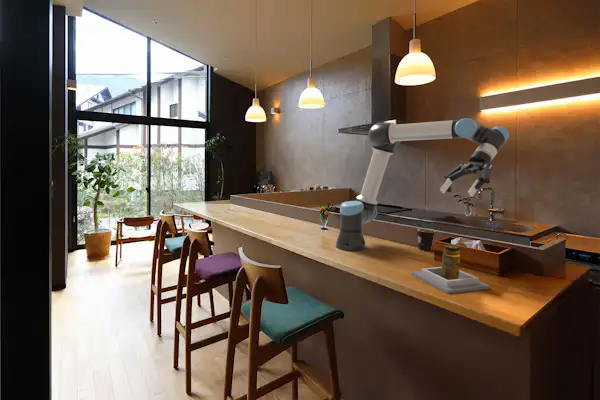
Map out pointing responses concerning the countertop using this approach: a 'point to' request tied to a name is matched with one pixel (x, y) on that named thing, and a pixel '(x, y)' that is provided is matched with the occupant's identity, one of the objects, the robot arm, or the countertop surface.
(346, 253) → the countertop surface
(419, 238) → the coffee mug
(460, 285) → the tray
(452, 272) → the condiment
